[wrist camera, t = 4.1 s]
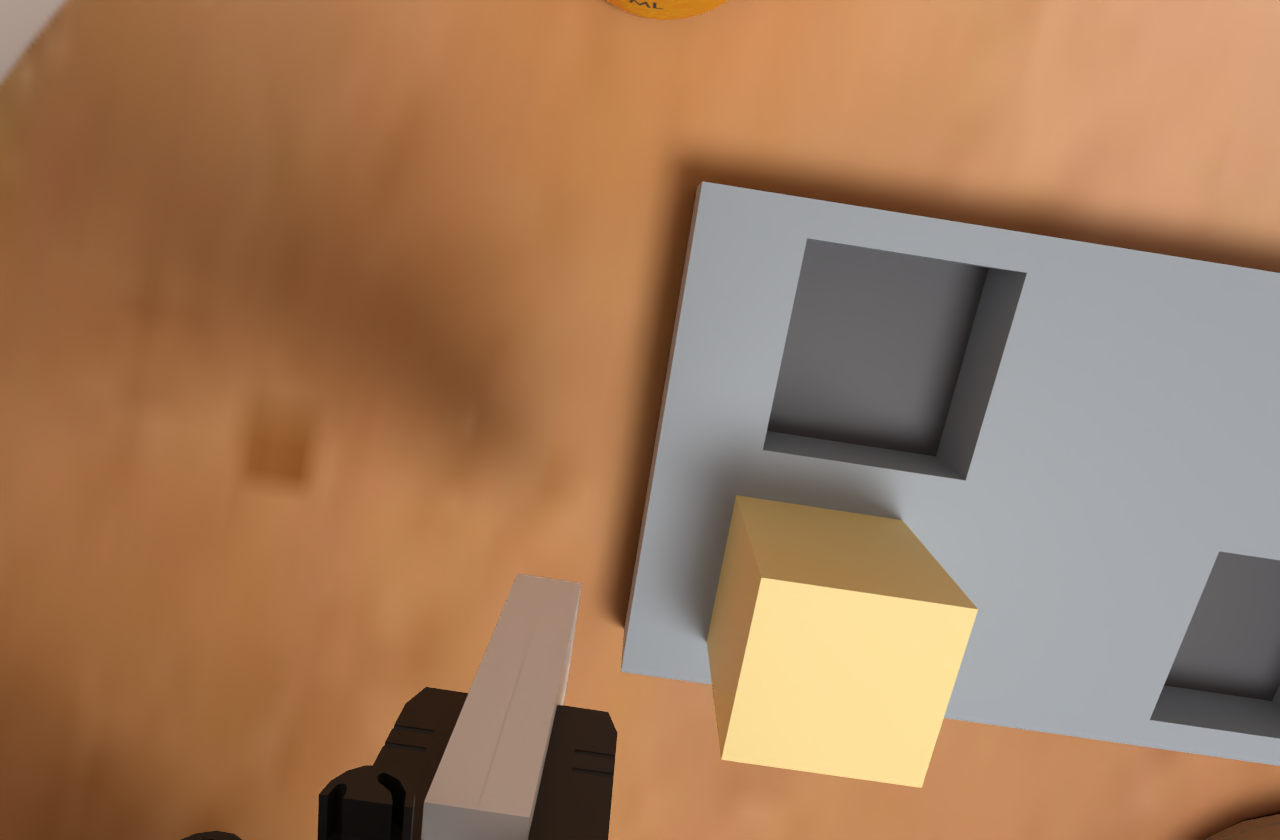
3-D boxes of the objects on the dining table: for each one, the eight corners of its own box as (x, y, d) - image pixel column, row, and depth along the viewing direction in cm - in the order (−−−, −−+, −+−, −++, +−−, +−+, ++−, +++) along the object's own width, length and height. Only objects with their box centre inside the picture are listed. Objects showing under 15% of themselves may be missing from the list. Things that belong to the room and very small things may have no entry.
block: (706, 642, 22) (721, 759, 17) (736, 495, 20) (761, 577, 16) (862, 664, 22) (921, 787, 17) (902, 520, 21) (977, 609, 16)
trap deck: (624, 629, 24) (620, 671, 22) (696, 186, 20) (702, 181, 18) (1336, 732, 25) (1406, 783, 23) (1543, 320, 21) (1653, 332, 19)
